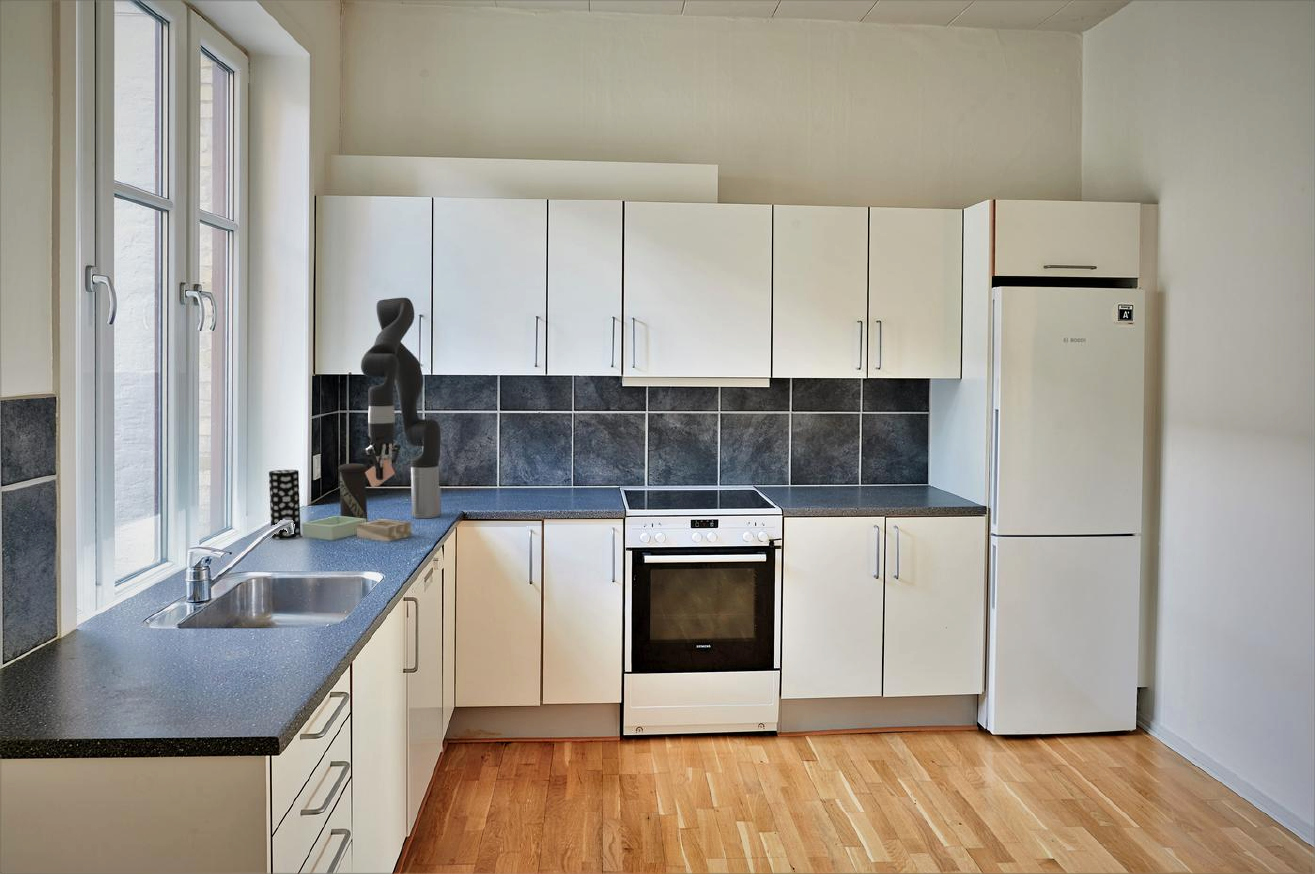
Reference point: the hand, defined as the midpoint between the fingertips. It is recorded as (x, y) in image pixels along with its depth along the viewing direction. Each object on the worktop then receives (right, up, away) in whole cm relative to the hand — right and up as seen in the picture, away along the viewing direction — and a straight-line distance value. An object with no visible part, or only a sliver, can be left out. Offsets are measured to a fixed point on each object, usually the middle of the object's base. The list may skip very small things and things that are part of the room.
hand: (383, 478), depth 273 cm
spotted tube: (-31, -18, +6) cm, 37 cm away
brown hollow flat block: (0, -18, +2) cm, 18 cm away
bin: (-16, -18, +5) cm, 25 cm away
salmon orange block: (-4, 0, +2) cm, 5 cm away
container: (-17, -16, +26) cm, 35 cm away
